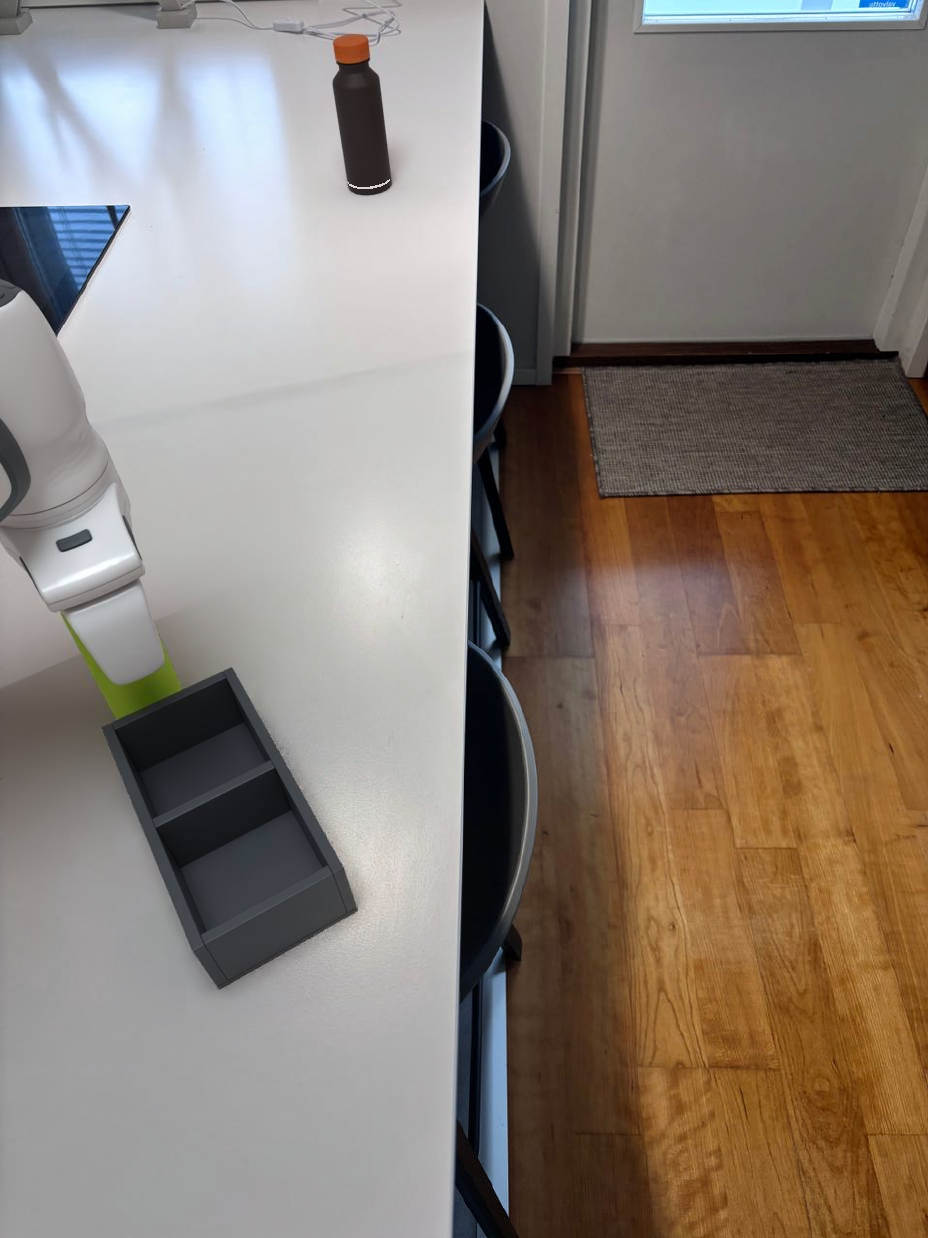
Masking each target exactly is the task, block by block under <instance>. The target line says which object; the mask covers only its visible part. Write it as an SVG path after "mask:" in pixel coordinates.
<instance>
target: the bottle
mask: <svg viewBox="0 0 928 1238" xmlns="http://www.w3.org/2000/svg"><path fill="white" fill-rule="evenodd" d="M332 47H333V54H334V60H335V64H336V65H337V66H338V71H337V72H336V73H335V75H334V77H333V78H332V85H331V86H332V91H333V98H334V104H335V111H336V112H335V113H336V117H337V124H338V130H339V138H340V145H341V150H342V156H343V163H344V169H345V177H346V182H347V181H348V182H349V184H352V185H354V186H357V187H370V186H375V185H379V184H382V183H385V182H386V181H387V180H389V179H390V177H391V178H392V173H391V164H390V154H389V147H388V137H387V130H386V129H387V128H386V121H385V113H384V104H383V97H382V88H381V87H382V86H381V79H380V76H379V74H378V73H377V72H376V71H375V70H374V69H372V67H370V61H371V51H370V43H369V38H368V37H367V36H366V35H364V34H359V33H350V34H343V35H341V36H338V37H335V39H334V40H333V41H332ZM349 184H348V183H347V188H348V189H349V190H350V192H352V193H355V194H358V195H375V194H379V193H383V192H385V191H386V190H388V189H389V188H390V187H391V185H392V179H391V180H390V181H389V182H388V183H387V184H385V185H383V186H381V187H377V188H373V189H357V188H353V187H351V186H349Z"/></svg>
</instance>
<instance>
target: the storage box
mask: <svg viewBox="0 0 928 1238" xmlns="http://www.w3.org/2000/svg"><path fill="white" fill-rule="evenodd" d="M182 689H183V690H181V691H179V692H176V693H174V694H172V695H170V696H168V697H166V698H163V699H161V700H159V701H157V702H155V703H153V704H150V705H148V706H146V707H144V708H142V709H140V710H137V711H135V712H133V713H131V714H129V715H127V716H124V717H122V718H120V719H118V720H116V719H115V720H113V721H112V722H110V723H108V724H106V725H103V726H101V731H102V733H103V735H104V737H105V740H106V743H107V745H108V747H109V750H110V752H111V755H112V757H113V760H114V763H115V765H116V767H117V770H118V772H119V774H120V777H121V779H122V782H123V784H124V787H125V790H126V792H127V795H128V797H129V800H130V802H131V804H132V807H133V809H134V812H135V814H136V817H137V819H138V822H139V824H140V826H141V828H142V831H143V833H144V836H145V838H146V841H147V843H148V846H149V849H150V851H151V853H152V856H153V858H154V860H155V863H156V865H157V868H158V870H159V872H160V875H161V878H162V880H163V882H164V885H165V887H166V890H167V893H168V895H169V897H170V900H171V902H172V904H173V907H174V910H175V912H176V915H177V916H178V919H179V922H180V925H181V926H182V927H181V928H182V929H183V932H184V934H185V937H186V939H187V942H188V944H189V946H190V949H191V951H192V953H193V954H194V956H195V957H196V959H197V960H198V962H199V963H200V964H201V966H202V968H203V969H204V971H205V972H206V973H207V975H208V976H209V978H210V980H211V981H212V982H213V983H214V985H215V987H216V988H217V989H218V990H222V988H224V987H226V986H228V985H230V984H231V983H233V982H235V981H237V980H239V979H240V978H242V977H244V976H245V975H247V974H249V973H250V972H252V971H254V970H256V969H258V968H260V967H261V966H263V965H265V964H267V963H268V962H270V961H272V960H274V959H275V958H277V957H279V956H281V955H282V954H284V953H286V952H288V951H289V950H291V949H294V948H295V947H296V946H298V945H300V944H301V943H304V942H305V941H307V940H309V939H310V938H312V937H314V936H316V935H318V934H319V933H321V932H323V931H324V930H326V929H327V928H330V927H331V926H333V925H335V924H337V923H338V922H341V921H342V920H344V919H346V918H347V917H349V916H351V915H352V914H354V913H356V912H358V911H359V909H358V906H357V903H356V900H355V897H354V894H353V891H352V888H351V885H350V882H349V879H348V876H347V873H346V870H345V867H344V866H343V863H342V862H341V860H340V858H339V857H338V855H337V853H336V851H335V849H334V848H333V845H332V844H331V842H330V840H329V839H328V837H327V835H326V833H325V831H324V830H323V827H322V826H321V824H320V821H318V818H317V817H316V815H315V814H314V811H313V810H312V808H311V806H310V804H309V802H308V801H307V799H306V796H305V795H304V793H303V792H302V790H301V788H300V787H299V784H298V783H297V781H296V778H295V777H294V775H293V774H292V772H291V770H290V769H289V766H288V765H287V763H286V761H285V759H284V758H283V756H282V754H281V752H280V750H279V749H278V747H277V745H276V743H275V741H274V740H273V738H272V736H271V735H270V733H269V730H268V729H267V727H266V725H265V724H264V722H263V720H262V718H261V716H260V714H259V712H258V711H257V709H256V707H255V705H254V703H253V702H252V700H251V698H250V696H249V695H248V692H247V691H246V689H245V688H244V685H243V683H242V682H241V680H240V679H239V677H238V675H237V673H236V672H235V669H234V668H233V667H232V666H231V667H228V668H226V669H224V670H223V671H220V672H217V673H215V674H213V675H211V676H209V677H207V678H204V679H202V680H200V681H198V682H196V683H194V684H192V685H190V686H187V687H185V688H182Z"/></svg>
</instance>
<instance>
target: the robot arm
mask: <svg viewBox="0 0 928 1238" xmlns="http://www.w3.org/2000/svg"><path fill="white" fill-rule="evenodd" d="M115 465H116V464H115V463H114V460H113V459H112V457H111V454H110V451H109V449H108V447H107V445H106V442H105V441H104V439H103V438H102V436H101V435H100V433H99V432H98V431H97V430H96V429H95V428H94V426H92V424H91V423H90V421H89V419H88V415H87V407H86V399H85V394H84V391H83V390H82V387H81V384H80V383H79V380H78V378H77V376H76V373H75V371H74V369H73V366H72V365H71V363H70V360H69V358H68V357H67V354H66V352H65V350H64V348H63V347H62V345H61V342H60V340H59V339H58V337H57V335H56V334H55V332H54V330H53V328H52V326H51V325H50V323H49V321H48V320H47V318H46V317H45V315H44V314H43V312H42V311H41V310H40V307H39V306H38V304H36V302H35V300H33V299H32V298H31V296H30V295H29V294H28V293H27V292H26V291H25V290H24V289H22V288H21V287H19V286H16V285H14V283H12V282H9V281H8V280H7V281H6V280H3V279H1V278H0V545H1V547H2V548H3V549H4V551H5V552H6V553H7V554H8V555H9V556H10V558H12V559H13V560H14V561H15V562H16V564H17V565H19V566H20V568H21V569H23V570H24V571H25V572H26V573H27V575H28V577H29V578H30V580H31V581H32V583H33V585H34V587H35V589H36V591H37V593H38V595H39V596H40V598H41V599H42V601H43V602H44V604H45V605H46V607H47V609H48V610H49V611H50V612H51V613H58V612H60V611H62V613H63V615H64V616H65V618H66V619H67V621H68V623H69V624H70V626H71V627H72V629H73V630H74V631H75V633H76V634H77V636H78V637H79V639H80V640H81V641H82V643H83V644H84V646H85V647H86V648H87V650H88V651H89V653H90V654H91V655H92V657H93V658H94V659H95V661H96V662H97V664H98V665H99V666H100V668H101V669H102V670H103V672H104V673H105V674H106V676H107V677H108V678H109V679H110V680H111V681H112V682H113V683H115V684H117V685H119V686H124V685H127V684H130V683H133V682H135V681H138V680H140V679H143V678H145V677H147V676H149V675H151V674H153V673H154V672H156V671H158V670H160V669H161V668H162V667H163V665H164V661H165V658H164V652H163V648H162V645H161V641H160V638H161V637H160V638H159V635H160V634H159V635H158V633H159V631H158V628H157V626H156V622H155V619H154V616H153V613H152V610H151V607H150V604H149V600H148V598H147V595H146V591H145V589H144V588H145V587H144V586H143V583H142V580H141V578H142V577H143V576H145V575H146V572H147V571H146V567H145V565H144V562H143V558H142V556H141V555H142V554H141V553H140V551H139V549H138V545H137V543H136V539H135V536H134V533H133V522H132V515H131V501H130V498H129V496H128V493H127V491H126V488H125V487H124V484H123V481H122V480H121V477H120V475H119V473H118V470H117V467H116V466H115ZM157 631H158V632H157Z"/></svg>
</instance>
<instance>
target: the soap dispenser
mask: <svg viewBox="0 0 928 1238" xmlns="http://www.w3.org/2000/svg"><path fill="white" fill-rule="evenodd" d="M59 612H60V616H61V618H62V620H63V621H64V624H65V625H66V627H67V630H68V631H69V633H70V635H71V637H72V638H73V640H74V642H75V645H76V647H77V649H78V650H79V652H80V654H81V657H82V658H83V660H84V661H85V663H86V666H87V667H88V669H89V671H90V673H91V674H92V677H93V678H94V680H95V683H96V684H97V686H98V688H99V690H100V692H101V694H102V696H103V698H104V700H105V702H106V703H107V705H108V707H109V709H110V711H111V713H112V715H113V716H114V718H115V721H116V720H118V719H120V718H122V717H124V716H127V715H129V714H131V713H133V712H135V711H137V710H140V709H142V708H144V707H146V706H148V705H150V704H153V703H155V702H157V701H159V700H161V699H163V698H166V697H168V696H170V695H172V694H174V693H176V692H179V691H181V690H183V689H184V688H183V687H182V684H181V682H180V680H179V678H178V676H177V673H176V671H175V668H174V666H173V664H172V661H171V659H170V657H169V654H168V652H167V650H166V647H165V645H164V642H163V640H162V637H161V635H160V633H159V630H157V632H158V635H159V638H160V641H161V645H162V648H163V652H164V658H165V661H164V665H163V667H162V668H161V669H160V670H158V671H156V672H154V673H153V674H151V675H149V676H147V677H145V678H143V679H140V680H138V681H135V682H133V683H130V684H127V685H124V686H119V685H117V684H115V683H113V682H112V681H111V680H110V679H109V678H108V677H107V676H106V674H105V673H104V672H103V670H102V669H101V668H100V666H99V665H98V664H97V662H96V661H95V659H94V658H93V657H92V655H91V654H90V653H89V651H88V650H87V648H86V647H85V646H84V644H83V643H82V641H81V640H80V639H79V637H78V636H77V634H76V633H75V631H74V630H73V629H72V627H71V626H70V624H69V623H68V621H67V619H66V618H65V616H64V615H63V613H62V611H59Z"/></svg>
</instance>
